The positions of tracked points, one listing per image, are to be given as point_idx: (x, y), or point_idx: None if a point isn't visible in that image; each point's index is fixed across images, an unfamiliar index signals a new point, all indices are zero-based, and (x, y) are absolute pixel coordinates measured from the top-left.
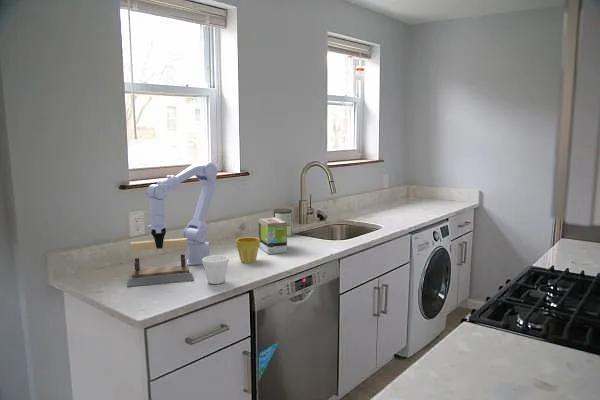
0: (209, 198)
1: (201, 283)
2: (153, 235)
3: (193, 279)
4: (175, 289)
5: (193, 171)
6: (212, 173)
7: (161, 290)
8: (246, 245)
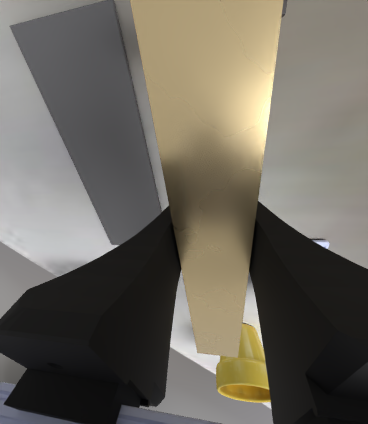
0: None
1: (95, 253)
2: (58, 286)
3: (113, 244)
4: (44, 205)
5: None
6: None
7: (26, 173)
8: (217, 376)
